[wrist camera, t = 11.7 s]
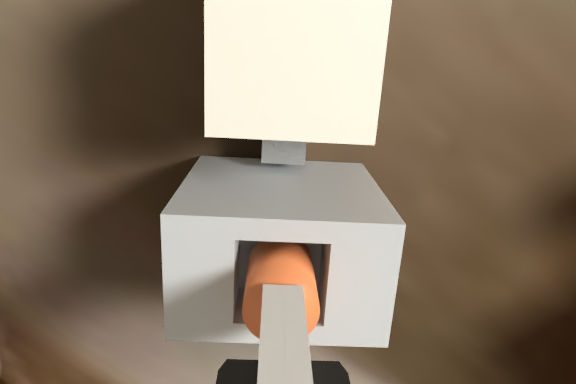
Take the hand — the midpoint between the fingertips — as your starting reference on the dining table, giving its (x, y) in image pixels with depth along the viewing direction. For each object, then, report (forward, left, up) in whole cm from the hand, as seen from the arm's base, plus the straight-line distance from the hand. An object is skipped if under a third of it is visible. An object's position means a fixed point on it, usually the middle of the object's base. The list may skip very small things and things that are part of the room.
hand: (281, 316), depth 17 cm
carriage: (-11, 0, -12) cm, 16 cm away
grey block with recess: (0, 0, -12) cm, 12 cm away
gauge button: (0, 0, -4) cm, 4 cm away
